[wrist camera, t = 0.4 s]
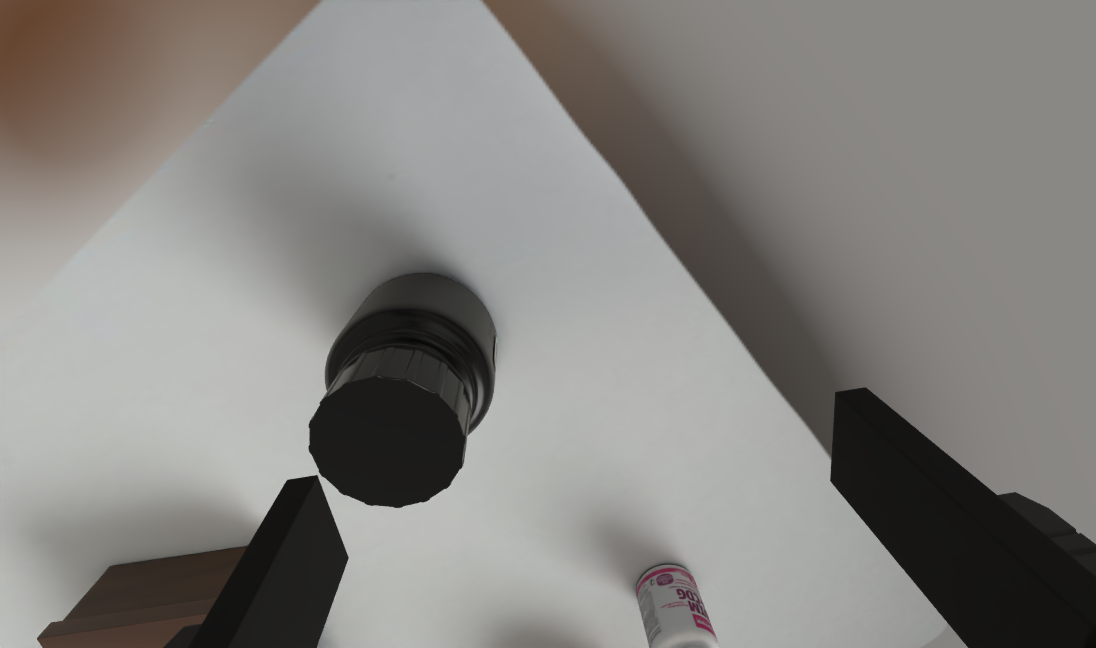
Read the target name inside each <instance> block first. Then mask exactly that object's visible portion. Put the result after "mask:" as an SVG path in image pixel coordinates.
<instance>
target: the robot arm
mask: <svg viewBox="0 0 1096 648" xmlns="http://www.w3.org/2000/svg"><path fill="white" fill-rule="evenodd" d="M830 481H831V482H832V484H833V485H834V486H835V487H836V489H837V490H838V491H839V492H840V493H841V495H842V496H843V497H844V498H845V499H846V501H847V502H848V503H849V504H850V505H851V507H852V508H853V509H854V510H855V511H856V513H857V514H858V515H859V516H860V518H861V519H862V520H863V521H864V522H865V524H866V525H867V526H868V527H869V528H870V530H871V531H872V532H873V533H874V534H875V536H876V537H877V538H878V539H879V540H880V542H881V543H882V544H883V545H884V547H885V548H886V549H887V550H888V551H889V553H890V554H891V555H892V556H893V557H894V559H895V560H896V561H897V562H898V563H899V565H900V566H901V567H902V568H903V569H904V571H905V572H906V573H907V574H908V575H909V577H910V578H911V579H912V580H913V582H914V583H915V584H916V585H917V586H918V588H919V589H920V590H921V591H922V592H923V594H924V595H925V596H926V597H927V598H928V600H929V601H930V602H931V603H932V604H933V606H934V607H935V608H936V609H937V611H938V612H939V613H940V614H941V615H942V617H943V618H944V619H945V620H946V621H947V623H948V624H949V625H950V626H951V627H952V629H953V630H954V631H955V632H956V633H957V635H958V636H959V637H960V638H961V640H962V641H963V642H964V643H965V644H966V646H967V647H968V648H1096V544H1095V543H1093V542H1092V541H1091V540H1089V539H1088V538H1086V537H1085V536H1084V535H1082V534H1081V533H1079V534H1078V533H1077V532H1076V529H1075V528H1074V527H1072V526H1071V525H1070V524H1068V523H1067V522H1066V521H1064V520H1063V519H1062V518H1060V517H1059V516H1058V515H1057V514H1055V513H1054V512H1053V511H1051V510H1050V509H1049V508H1047V507H1045V506H1043V505H1041V504H1039V503H1037V502H1034V501H1032V500H1030V499H1028V498H1026V497H1024V496H1022V495H1020V494H1018V493H1016V492H1014V493H1008V494H1001V495H996V494H995V493H994V492H993V491H991V490H990V489H989V488H988V487H987V486H985V485H984V484H983V483H982V482H980V481H979V480H978V479H977V478H976V477H974V476H973V475H972V474H971V473H969V472H968V471H967V470H966V469H965V468H963V467H962V466H961V465H960V464H958V463H957V462H956V461H955V460H954V459H952V458H951V457H950V456H949V455H948V454H946V453H945V452H944V451H942V450H941V449H940V448H939V447H938V446H936V445H935V444H934V443H933V442H932V441H930V440H929V439H928V438H927V437H925V436H924V435H923V434H922V433H921V432H919V431H918V430H917V429H916V428H915V427H913V426H912V425H911V424H910V423H909V422H907V421H906V420H905V419H904V418H902V417H901V416H900V415H899V414H898V413H896V412H895V411H894V410H893V409H891V408H890V407H889V406H888V405H887V404H885V403H884V402H883V401H882V400H880V399H879V398H878V397H877V396H876V395H874V394H873V393H872V392H871V391H870V390H868V389H867V388H858V389H852V390H846V391H840V392H835V408H834V426H833V443H832V460H831V478H830ZM347 561H348V555H347V552H346V550H345V547H344V544H343V542H342V539H341V537H340V534H339V531H338V529H337V526H336V523H335V521H334V518H333V515H332V513H331V510H330V507H329V505H328V502H327V499H326V497H325V494H324V492H323V489H322V486H321V484H320V481H319V478H318V476H317V475H315V476H309V477H303V478H296V479H290V480H287V481H286V483H285V484H284V486H283V488H282V490H281V491H280V493H279V495H278V496H277V498H276V500H275V501H274V503H273V505H272V506H271V508H270V510H269V511H268V513H267V515H266V517H265V518H264V520H263V522H262V523H261V525H260V527H259V528H258V530H257V532H256V533H255V535H254V537H253V538H252V540H251V542H250V544H249V545H248V547H247V549H246V550H245V552H244V554H243V555H242V557H241V559H240V560H239V562H238V564H237V565H236V567H235V569H234V571H233V572H232V574H231V576H230V577H229V579H228V581H227V582H226V584H225V586H224V587H223V589H222V591H221V592H220V594H219V596H218V598H217V599H216V601H215V603H214V604H213V606H212V608H211V609H210V611H209V613H208V614H207V616H206V618H205V619H204V621H203V623H202V624H196V625H189V626H184V627H183V628H182V629H181V630H180V631H179V632H178V633H177V634H176V635H175V636H174V637H173V638H172V639H171V640H170V641H169V642H168V643H167V644H166V645H165V646H164V647H163V648H317V645H318V642H319V639H320V636H321V634H322V631H323V628H324V625H325V622H326V620H327V617H328V614H329V611H330V609H331V606H332V603H333V600H334V597H335V595H336V592H337V589H338V586H339V583H340V581H341V578H342V575H343V572H344V569H345V567H346V564H347Z"/></svg>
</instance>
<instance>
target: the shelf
mask: <svg viewBox="0 0 1096 648" xmlns="http://www.w3.org/2000/svg"><path fill="white" fill-rule="evenodd" d="M247 547H248V546H247ZM247 547H240V548H233V549H226V550H220V551H213V552H206V553H199V554H192V555H185V556H179V557H172V558H165V559H158V560H151V561H144V562H138V563H131V564H124V565H117V566H110V567H109V568H108V569H107V570H106V572H105V573H104V574H103V575H102V576H101V577H100V578H99V580H98V581H97V582H96V583H95V584H94V585H93V586H92V588H91V589H90V590H89V591H88V592H87V593H86V595H85V596H84V597H83V598H82V599H81V600H80V601H79V603H78V604H77V605H76V606H75V607H74V608H73V609H72V611H71V612H70V613H69V614H68V615H67V616H66V617H65V619H64V620H63V621H58V622H51V623H50V624H49V625H48V626H47V628H46V629H45V630H44V631H43V632H42V633H41V634H40V635H39V637H38V638H37V640H38V641H39V643H40V644H41V646H42V647H43V648H163V647H164V646H165V645H166V644H167V643H168V642H169V641H170V640H171V639H172V638H173V637H174V636H175V635H176V634H177V633H178V632H179V631H180V630H181V629H182V628H183V627H184V626H189V625H196V624H202V623H203V621H204V619H205V618H206V616H207V614H208V613H209V611H210V609H211V608H212V606H213V604H214V603H215V601H216V599H217V598H218V596H219V594H220V592H221V591H222V589H223V587H224V586H225V584H226V582H227V581H228V579H229V577H230V576H231V574H232V572H233V571H234V569H235V567H236V565H237V564H238V562H239V560H240V559H241V557H242V555H243V554H244V552H245V550H246V549H247Z"/></svg>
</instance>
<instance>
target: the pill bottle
mask: <svg viewBox="0 0 1096 648" xmlns="http://www.w3.org/2000/svg"><path fill="white" fill-rule="evenodd" d="M636 593H637V599H638V603H639V607H640V611H641V615H642V620H643V624H644V628H645V632H646V636H647V640H648V644H649V648H719V644H718V641H717V638H716V636H715V633H714V631H713V628H712V625H711V623H710V620H709V618H708V615H707V612H706V610H705V607H704V604H703V602H702V599H701V596H700V593H699V591H698V588H697V585H696V583H695V580H694V578H693V576H692V575H691V574H690V573H689V572H688V571H687V570H686V569H684V568H682V567H679V566H676V565H661V566H657V567H655V568H652V569H650V570H649V571H647V572H646V573H645V574H644V575H643V576H642V578H641V579H640V580H639V582H638V585H637V589H636Z"/></svg>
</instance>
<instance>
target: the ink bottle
mask: <svg viewBox="0 0 1096 648" xmlns="http://www.w3.org/2000/svg"><path fill="white" fill-rule="evenodd" d="M496 356H497V336H496V331H495V327H494V324H493V321H492V318H491V316H490V314H489V312H488V311H487V309H486V307H485V306H484V304H483V303H482V302H481V301H480V299H479V298H478V297H477V296H476V295H475V294H474V293H473V292H472V291H470V290H469V289H468V288H467V287H465V286H464V285H462V284H461V283H459V282H457V281H455V280H453V279H451V278H448V277H446V276H442V275H438V274H432V273H415V274H408V275H404V276H401V277H398V278H395V279H392V280H390V281H388V282H386V283H384V284H383V285H381V286H380V287H378V288H377V289H376V290H374V291H373V292H372V293H371V294H370V295H369V296H368V297H367V298H366V300H365V301H364V302H363V303H362V305H361V306H360V307H359V309H358V310H357V311H356V313H355V314H354V315H353V317H352V318H351V319H350V321H349V322H348V323H347V325H346V326H345V327H344V329H343V330H342V331H341V333H340V334H339V335H338V337H337V338H336V340H335V342H334V343H333V345H332V347H331V349H330V352H329V354H328V357H327V361H326V366H325V384H326V390H327V392H326V394H325V396H324V397H323V399H322V400H321V402H320V406H319V407H318V409H317V411H316V413H315V414H314V416H313V417H312V419H311V420H310V423H309V428H310V437H309V441H310V445H309V452H310V454H312V456H313V459H314V461H315V463H316V465H317V467H318V469H319V473H320V474H321V476H322V477H325V478H326V479H327V480H328V481H329V482H330V483H331V484H332V485H333V486H335V487H336V488H337V489H338V491H339V492H340V493H342V494H343V495H347V496H350V497H352V498H354V499H357V500H359V501H361V502H364V503H365V504H367V505H371V506H374V505H378V506H389V507H394V508H401V507H403V506H406V505H411V504H415V503H419V502H426V501H428V500H430V498H431V497H433V496H434V495H436V494H438V493H439V492H441V491H442V490H444V489H446V488H448V487H449V486H450V485H451V482H452V480H453V479H454V477H455V476H456V474H457V473H458V471H459V470H460V469H461V468H462V466H463V464H464V457H465V450H466V443H467V436H468V435H469V434H470V433H471V432H472V431H473V430H474V429H475V428H476V427H477V426H478V425H479V424H480V423H481V421H482V420H483V418H484V417H485V415H486V413H487V411H488V409H489V407H490V404H491V401H492V398H493V393H494V384H495V371H496Z"/></svg>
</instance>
